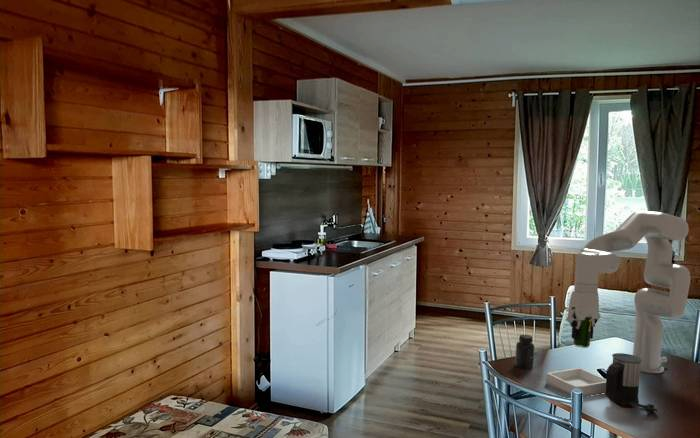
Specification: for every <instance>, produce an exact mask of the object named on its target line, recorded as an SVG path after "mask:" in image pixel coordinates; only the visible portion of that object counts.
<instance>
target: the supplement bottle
mask: <svg viewBox="0 0 700 438" xmlns="http://www.w3.org/2000/svg"><path fill="white" fill-rule="evenodd" d="M518 337H519V338H518V340H519V341H518V342H516V343H515V344H516V347H515V358H514V359H515V360H514V364H515V366H516V367H517V368H520V369H525V370H526V369H527V370H530V369H533V368H534V359H535V344H534V343H533V336H532V335H529V334H520V335H519V336H518Z"/></svg>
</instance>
